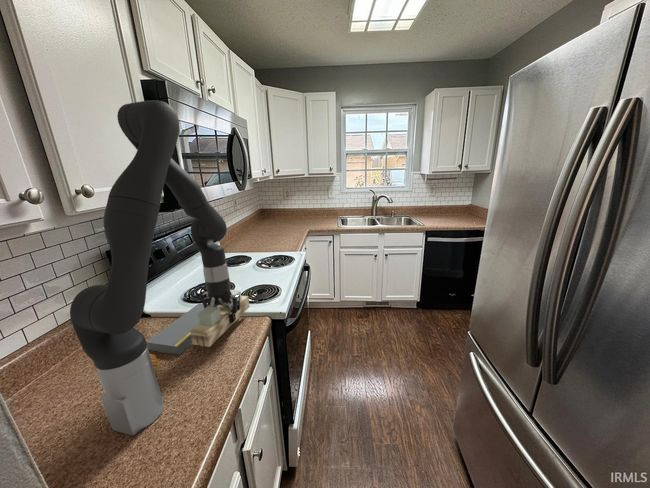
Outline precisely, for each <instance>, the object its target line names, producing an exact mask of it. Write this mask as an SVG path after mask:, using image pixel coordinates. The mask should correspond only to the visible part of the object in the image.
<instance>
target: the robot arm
mask: <svg viewBox="0 0 650 488" xmlns="http://www.w3.org/2000/svg"><path fill="white" fill-rule="evenodd" d="M116 117H117V122H118V125H119V128H120V129H121V131H122V133H123V134H124V135H125V137H126V138H127V139H128V141H129V142H130V143H131V144H132V145H133V147H134V148H135V149H136V150H137V151H136V153H135V155H134V157H133V158H132V160H131V161H130V162H129V164H128V165H127V166H126V167H125V169H124V170H123V172H122V173H121V174H120V175H119V176H118V177H117V179H116V180H115V182H114V183H113V185H112V187H111V189H110V190H109V193H108V196H107V202H106V207H105V209H104V214H103V229H104V233H105V237H106V240H107V242H108V246H109V250H110V255H111V266H110V272H109V276H108V281H107V284H95V285H91V286H90V285H89V286H87V287H86V288H84V289H82V290H81V291H79V292H78V293H77V294H76V295H75V297H74V298H73V300H72V302H71V305H70V308H69V316H70V322H71V324H72V327H73V330H74V332H75V334H76V337H77V339H78V341H79V344H80V346H81V348H82V350H83V351H84V353H85V354H86V355H87V357H88V358H89V359H90V360H92V362H93V364H94V367H95V370H96V372H97V375H98V379H99V381H100V383H101V387H102V389H103V391H104V394H102V396H101V398H100V399H101V402H102V404H103V405H102V406H103V407H104V410H105V413H106V416H107V419H108V420H109V423H110V427H111V429H112V431H114V432H118V433H121V434H122V433H123V434H126V435H129V436H136V434H137V433H138V432H140V431H141V430H143V429H145V428H147V427H148V426H150V425H151V424H152V423H153V422H154V421H156V419H158V417H160V415H161V413H162V412H163V410H164V407H165V405H164V403H165V402H164V400H163V397H162V393H161V389H160V386H159V382H158V379H157V375H155V371H154V368H153V364H152V361H151V357H150V354H151V353H150V350H148V347H147V343H146V342H147V339H146V337H145V335H144V334H143V333H142V332H141V331H139V330H138V329H137V328H135V326H136V325H138V323H139V321H140V320H141V318H142V315H143V313H144V311H145V305H146V297H147V285H148V275H149V274H148V273H149V265H150V263H149V262H150V257H151V254H152V253H151V252H152V246H153V240H154V235H155V230H156V226H157V223H158V219H159V218H158V217H159V213H160V209H161V200H162V195H163V191H164V186H165V184H166V186H167V187H168V188H169V190H170V191H171V193H172V195H174V197H175V199H176V201H177V202H178V204H179V205H180V207H181V209H182V210H183V211H184V213H185V214H186V215H187V216H188V217H190V218H193V220H192V222H191V224H190V233H191V236H192V239H193V241H194V242H195V243H194V244H195V245H196V247H197V249H198V252H199V254H200V256H201V263H202V266H203V270H202V271H203V276H204V283H205V288H206V291H205V292H203V293H202V294H200V298H201V303H203V306H204V309H205V308H206V307H207V306H209V307H217V305H221V306H223V307H224V309H226V310H227V311H228V313H229V314H228V315H229V321H230V323H231V324H232V323H233V322H234V321H235V320H236V315H235V313H236V312H237V311H238V310H240V295H239V294H237V295H232V293H231V291H230V290H231V280H230V274H229V273H230V272H229V267H228V264H227V258H226V252H225V249H224V246H222V245H220V244H217V243H216V242H214V241H217V240H222V239H224V238H225V236H226V234H227V232H228V230H227V228H228V227H227V224H226V221H225V219H224V218H223V217H222V215H220V213H219V212H218V211H217V209H215V208H214V207H213V206H212V205H211V204H210V203H209V200H208V199H207V197H206V196H205V194H204V191H203V189H202V188H201V187H200V186H201V185H200V184H199V183H198V182H197V181H196V179H194V177H193V176H192V175H190V174H189V173H188V172H187V171H186V170H185V169H184V168H182V167H181V166H180V165H179V164H178V163H177V162H176V161H175V160H174V159H173V154H174V151H175V149H176V146H177V142H178V139H179V134H180V123H179V117H178V115H177V113H176V111H175V109H174V108H173V107H172V106H171V105H170V104H168V103H167V102H165V101H162V100H158V99H157V100H155V99H154V100H153V99H152V100H149V99H148V100H143V101H136V102H130V103H129V102H128V103H126V104H124V105H121V107H119V109H118V112H117V116H116ZM231 299H232V300H231ZM227 303H229V304H228V305H227ZM207 304H208V305H207ZM230 308H231V309H230ZM236 321H237V320H236ZM236 321H235V322H236ZM235 322H234V323H235ZM234 323H233V324H234ZM233 324H232V325H233Z"/></svg>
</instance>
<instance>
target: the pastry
mask: <svg viewBox="0 0 650 488" xmlns="http://www.w3.org/2000/svg"><path fill="white" fill-rule="evenodd" d="M149 354H150V357H151V361H152V364H153V368H154V371H155V375H156V376H157V375H158V372H159V368H160V360H158V358H157V356H156V355H155V354H152V353H149Z"/></svg>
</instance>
